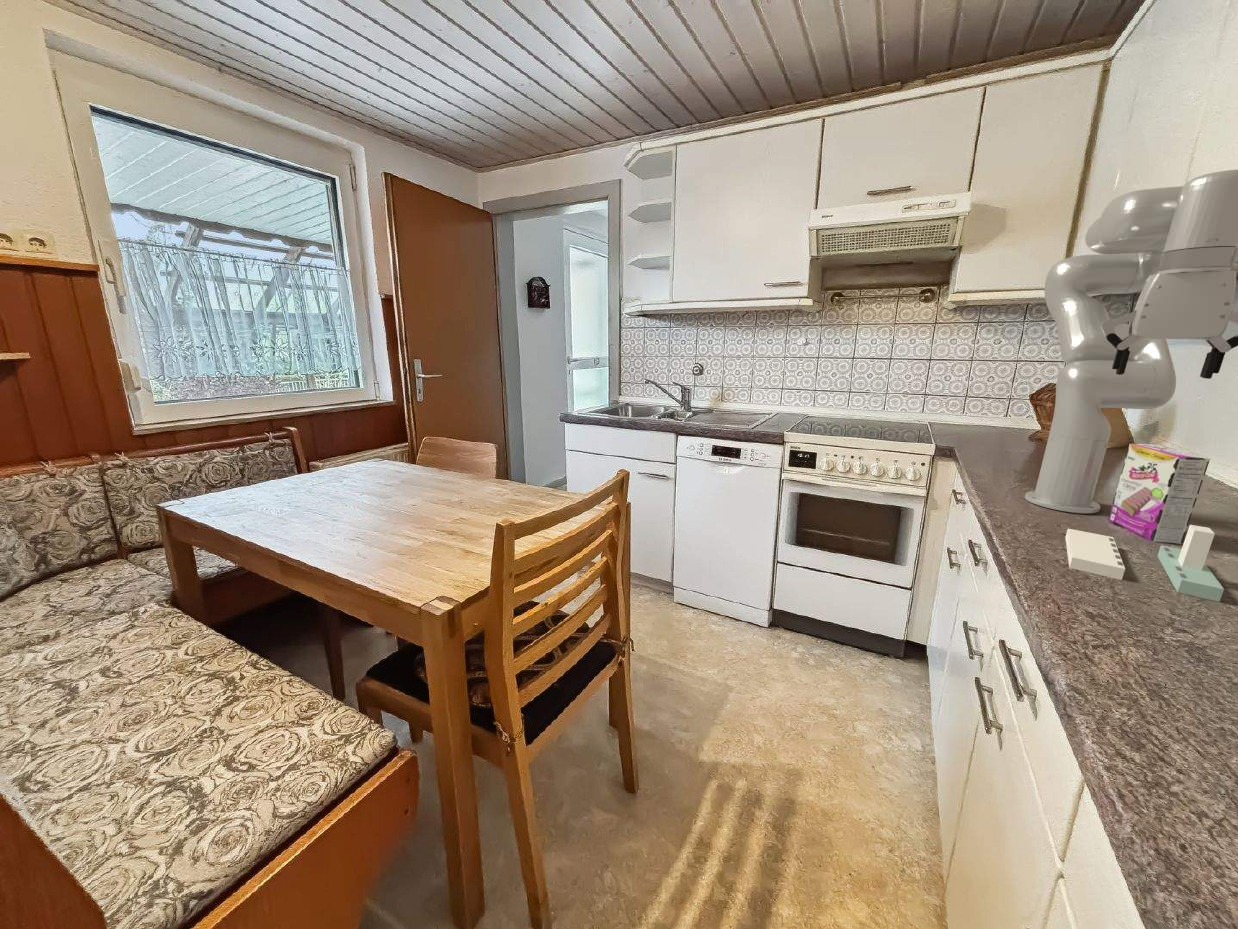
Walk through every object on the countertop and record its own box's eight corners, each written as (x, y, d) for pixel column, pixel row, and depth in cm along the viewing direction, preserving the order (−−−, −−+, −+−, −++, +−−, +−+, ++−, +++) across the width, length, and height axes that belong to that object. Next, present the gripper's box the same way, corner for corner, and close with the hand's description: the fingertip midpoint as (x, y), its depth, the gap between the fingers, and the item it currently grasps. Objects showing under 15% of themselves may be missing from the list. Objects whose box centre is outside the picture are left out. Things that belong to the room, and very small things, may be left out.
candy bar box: (1104, 521, 99) (1127, 442, 95) (1133, 523, 98) (1158, 444, 94) (1150, 543, 89) (1178, 456, 84) (1183, 545, 88) (1213, 457, 83)
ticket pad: (1065, 538, 90) (1067, 528, 90) (1110, 547, 86) (1113, 536, 86) (1069, 568, 78) (1072, 556, 78) (1121, 580, 75) (1125, 568, 74)
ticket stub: (1157, 556, 83) (1171, 512, 81) (1192, 563, 80) (1208, 517, 78) (1177, 592, 71) (1195, 541, 69) (1219, 602, 68) (1238, 550, 66)
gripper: (1275, 261, 72) (1235, 378, 77) (1113, 270, 83) (1086, 371, 87) (1295, 255, 67) (1251, 381, 71) (1119, 265, 77) (1090, 374, 82)
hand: (1160, 375), depth 79 cm, fingers open, 9 cm apart
